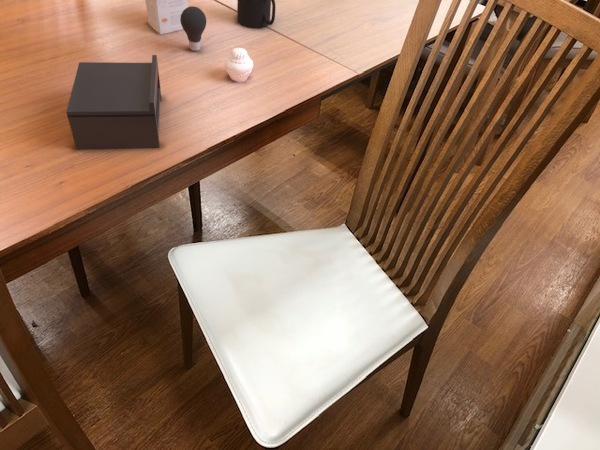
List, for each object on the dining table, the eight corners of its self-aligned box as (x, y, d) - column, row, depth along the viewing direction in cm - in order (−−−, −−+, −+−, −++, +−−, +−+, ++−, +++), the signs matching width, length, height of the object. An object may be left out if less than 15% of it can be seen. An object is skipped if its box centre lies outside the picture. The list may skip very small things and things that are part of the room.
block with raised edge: (76, 150, 88) (63, 103, 81) (87, 99, 99) (77, 53, 92) (159, 148, 91) (153, 102, 84) (161, 99, 101) (156, 54, 94)
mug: (260, 38, 123) (262, -5, 116) (230, 19, 129) (230, -24, 122) (285, 30, 128) (289, -12, 120) (256, 12, 133) (257, -30, 126)
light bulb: (200, 59, 114) (198, 15, 107) (178, 53, 115) (174, 9, 108) (211, 48, 117) (210, 5, 110) (190, 42, 118) (187, -1, 111)
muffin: (256, 74, 112) (257, 44, 107) (248, 88, 107) (249, 57, 102) (229, 69, 112) (229, 38, 107) (220, 82, 108) (219, 52, 103)
